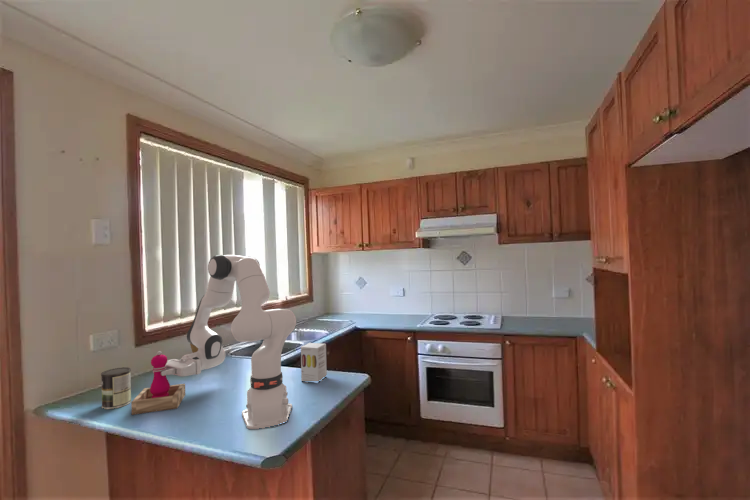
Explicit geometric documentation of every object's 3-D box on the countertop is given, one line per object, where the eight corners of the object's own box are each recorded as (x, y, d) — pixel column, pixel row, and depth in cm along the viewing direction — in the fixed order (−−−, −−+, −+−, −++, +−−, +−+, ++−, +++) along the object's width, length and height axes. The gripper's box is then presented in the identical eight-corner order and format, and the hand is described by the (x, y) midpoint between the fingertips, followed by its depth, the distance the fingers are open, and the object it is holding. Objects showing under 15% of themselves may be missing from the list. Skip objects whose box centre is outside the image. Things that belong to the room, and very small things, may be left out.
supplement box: (300, 382, 175) (299, 346, 175) (310, 376, 184) (309, 342, 184) (318, 383, 172) (317, 347, 172) (327, 377, 181) (326, 343, 181)
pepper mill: (161, 402, 149) (159, 353, 150) (146, 402, 151) (144, 353, 151) (174, 396, 156) (172, 349, 157) (159, 395, 158) (158, 348, 158)
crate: (177, 408, 148) (176, 396, 148) (131, 414, 143) (131, 402, 144) (185, 394, 163) (185, 383, 163) (144, 400, 159) (144, 388, 159)
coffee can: (97, 411, 148) (97, 376, 149) (106, 402, 158) (105, 369, 158) (127, 406, 152) (127, 372, 152) (134, 398, 162) (133, 365, 162)
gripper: (176, 354, 170) (145, 361, 159) (202, 359, 159) (169, 368, 147) (177, 367, 170) (145, 376, 159) (202, 374, 159) (170, 384, 147)
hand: (157, 372), depth 153 cm, fingers closed on pepper mill, 5 cm apart
